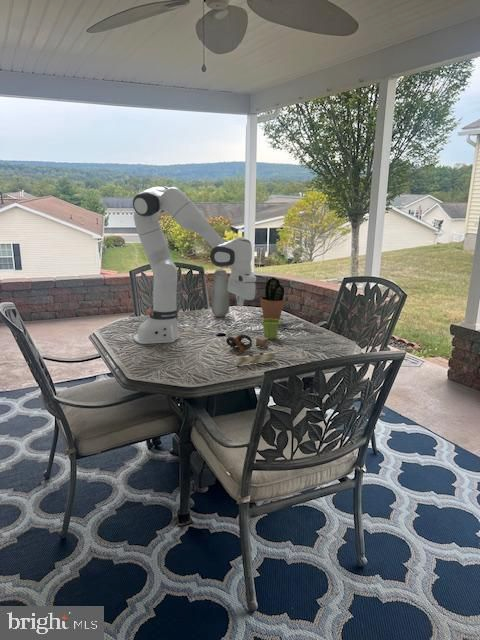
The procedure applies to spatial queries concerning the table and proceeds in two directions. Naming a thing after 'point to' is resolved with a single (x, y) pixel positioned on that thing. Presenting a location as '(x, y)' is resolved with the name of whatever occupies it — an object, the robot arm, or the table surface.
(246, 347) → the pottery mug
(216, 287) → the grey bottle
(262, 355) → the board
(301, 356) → the table surface
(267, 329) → the plant pot
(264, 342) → the walnut block
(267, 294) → the potted plant
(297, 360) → the table surface
